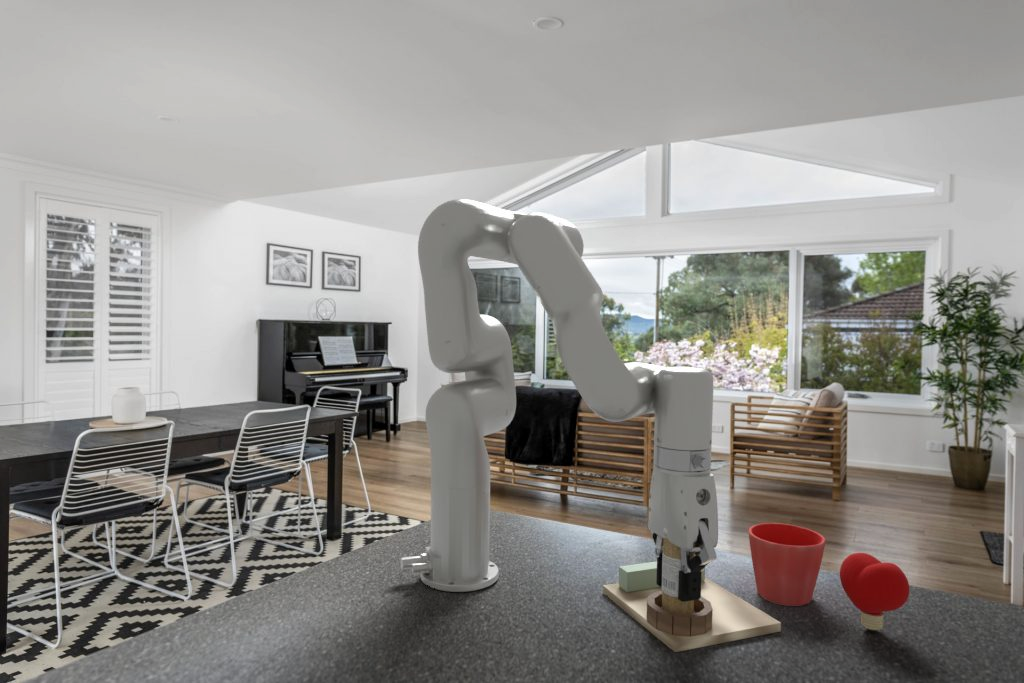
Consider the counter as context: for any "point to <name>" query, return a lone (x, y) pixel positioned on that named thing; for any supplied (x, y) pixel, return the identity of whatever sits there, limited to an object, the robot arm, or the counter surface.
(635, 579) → the bar
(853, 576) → the red heart figurine
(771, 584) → the flower pot
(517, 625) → the counter surface
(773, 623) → the board
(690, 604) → the sprinkles bottle
